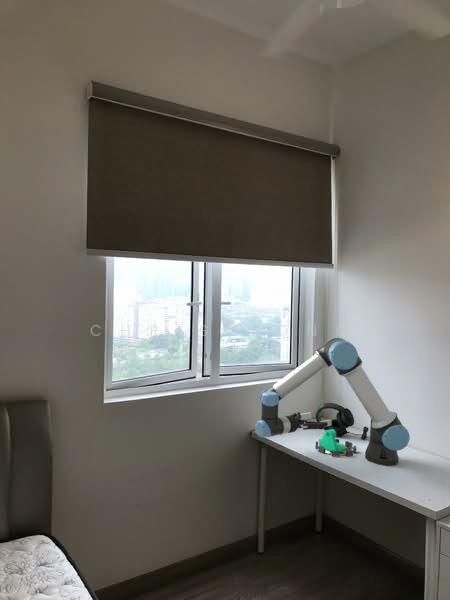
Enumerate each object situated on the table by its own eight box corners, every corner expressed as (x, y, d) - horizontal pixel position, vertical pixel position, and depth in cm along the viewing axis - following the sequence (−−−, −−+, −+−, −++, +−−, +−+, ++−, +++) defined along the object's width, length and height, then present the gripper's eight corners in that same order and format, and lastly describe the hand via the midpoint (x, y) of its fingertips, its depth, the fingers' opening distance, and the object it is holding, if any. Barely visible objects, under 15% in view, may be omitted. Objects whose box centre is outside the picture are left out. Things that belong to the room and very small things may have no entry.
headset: (355, 454, 256) (308, 423, 261) (360, 437, 266) (315, 408, 272) (372, 435, 245) (323, 403, 250) (377, 418, 256) (330, 388, 261)
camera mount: (347, 453, 232) (348, 432, 231) (335, 455, 228) (336, 433, 228) (331, 445, 242) (332, 425, 242) (319, 446, 238) (320, 426, 238)
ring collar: (364, 453, 233) (364, 448, 233) (335, 459, 223) (335, 454, 223) (335, 441, 250) (335, 436, 249) (307, 446, 239) (307, 441, 239)
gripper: (269, 425, 230) (303, 419, 241) (304, 440, 209) (339, 433, 220) (269, 410, 230) (303, 404, 241) (304, 423, 208) (339, 417, 220)
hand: (320, 418), depth 230 cm, fingers open, 13 cm apart
